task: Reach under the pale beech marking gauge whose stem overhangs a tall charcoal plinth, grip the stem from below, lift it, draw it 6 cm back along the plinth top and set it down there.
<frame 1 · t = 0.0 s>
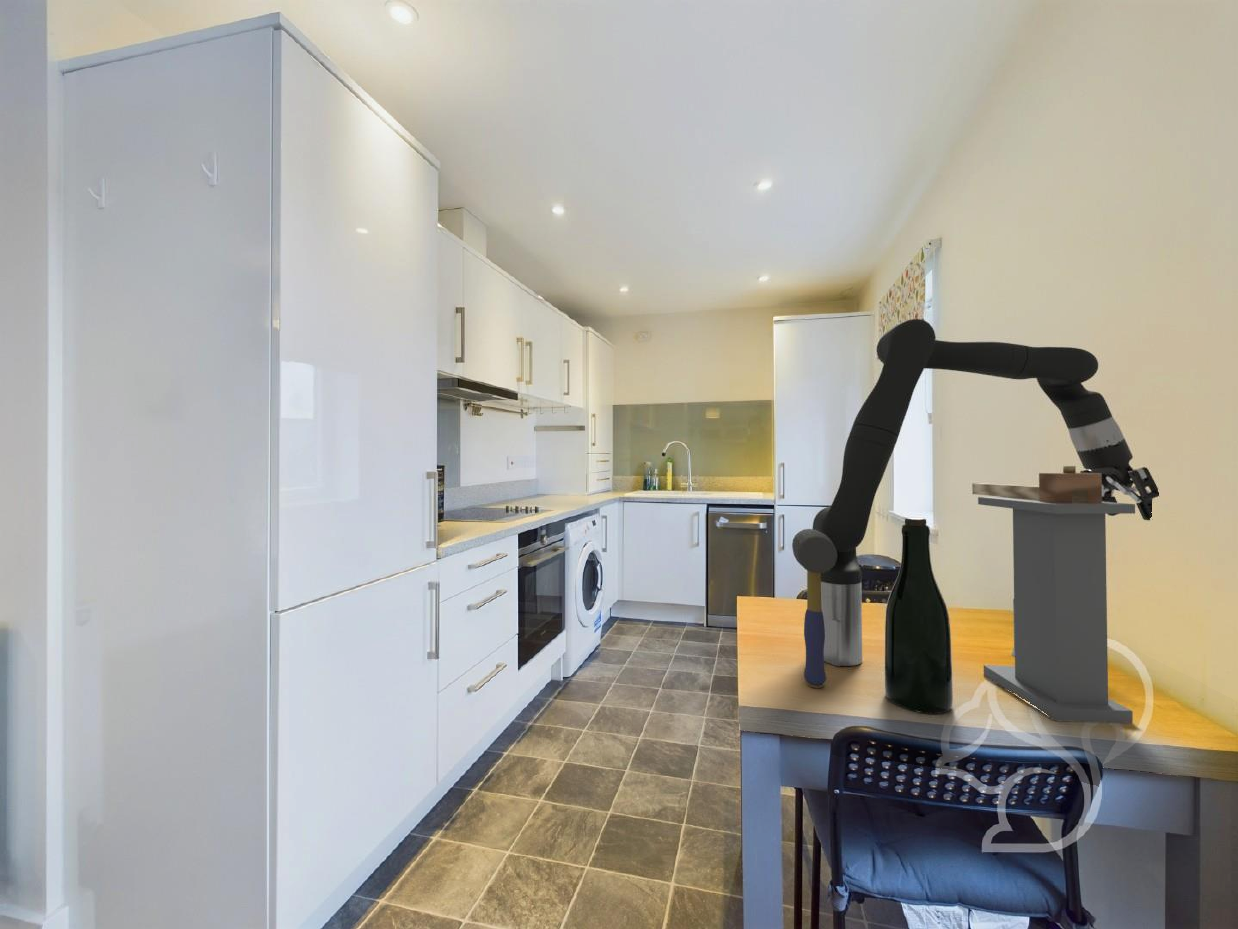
hand: (1132, 516, 101), 31 cm above the table, tool tilted 20°, fingers open, 8 cm apart
marking gauge: (1021, 497, 97), point 36 cm above the table, touching plinth
glass holder: (1051, 663, 106), on the table
plinth: (1050, 696, 91), on the table
rubber mallet: (815, 686, 96), on the table
dark green wine bottle: (917, 702, 89), on the table
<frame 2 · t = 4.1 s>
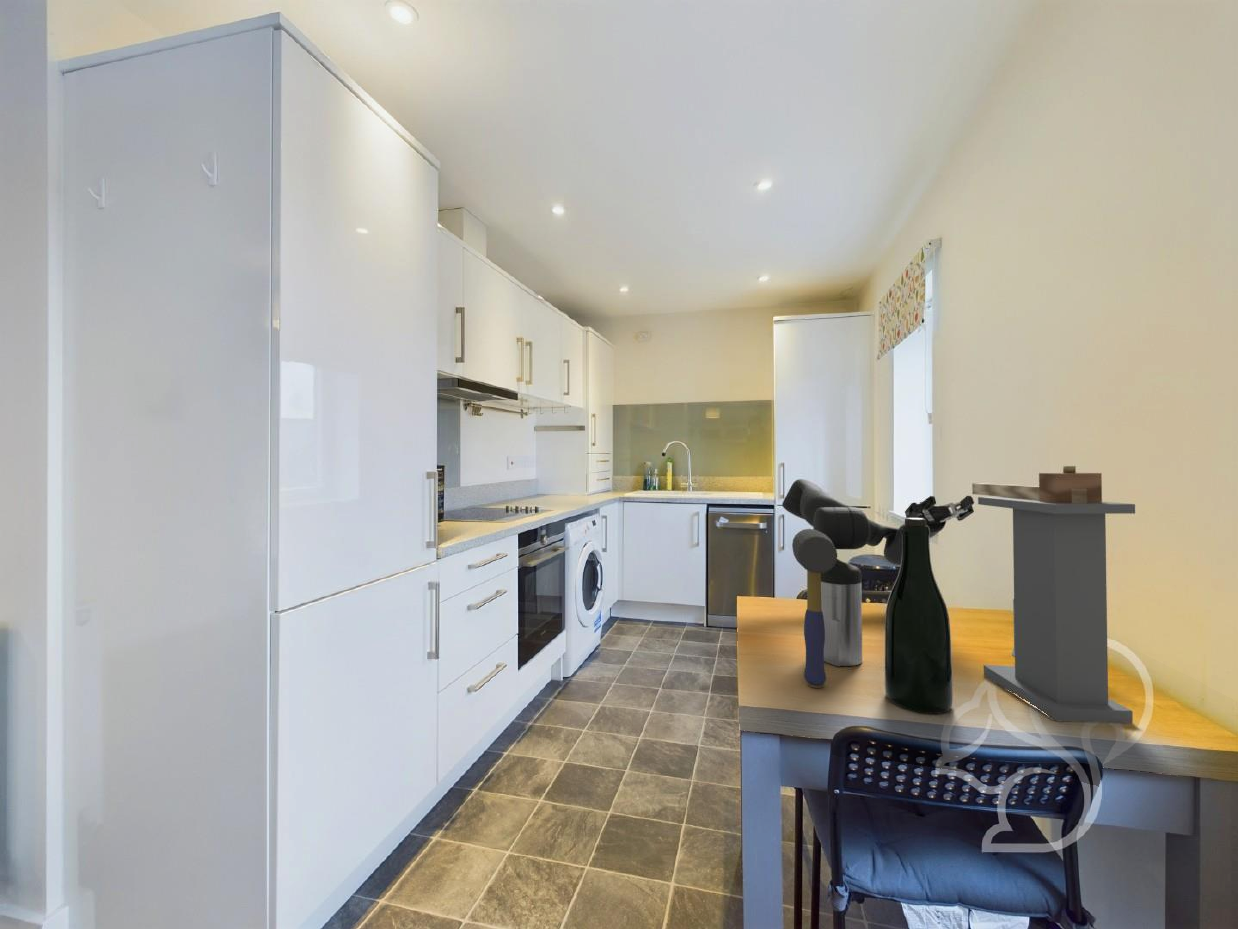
hand: (952, 499, 121), 34 cm above the table, tool pointing upward, fingers open, 8 cm apart
nothing on the table moved.
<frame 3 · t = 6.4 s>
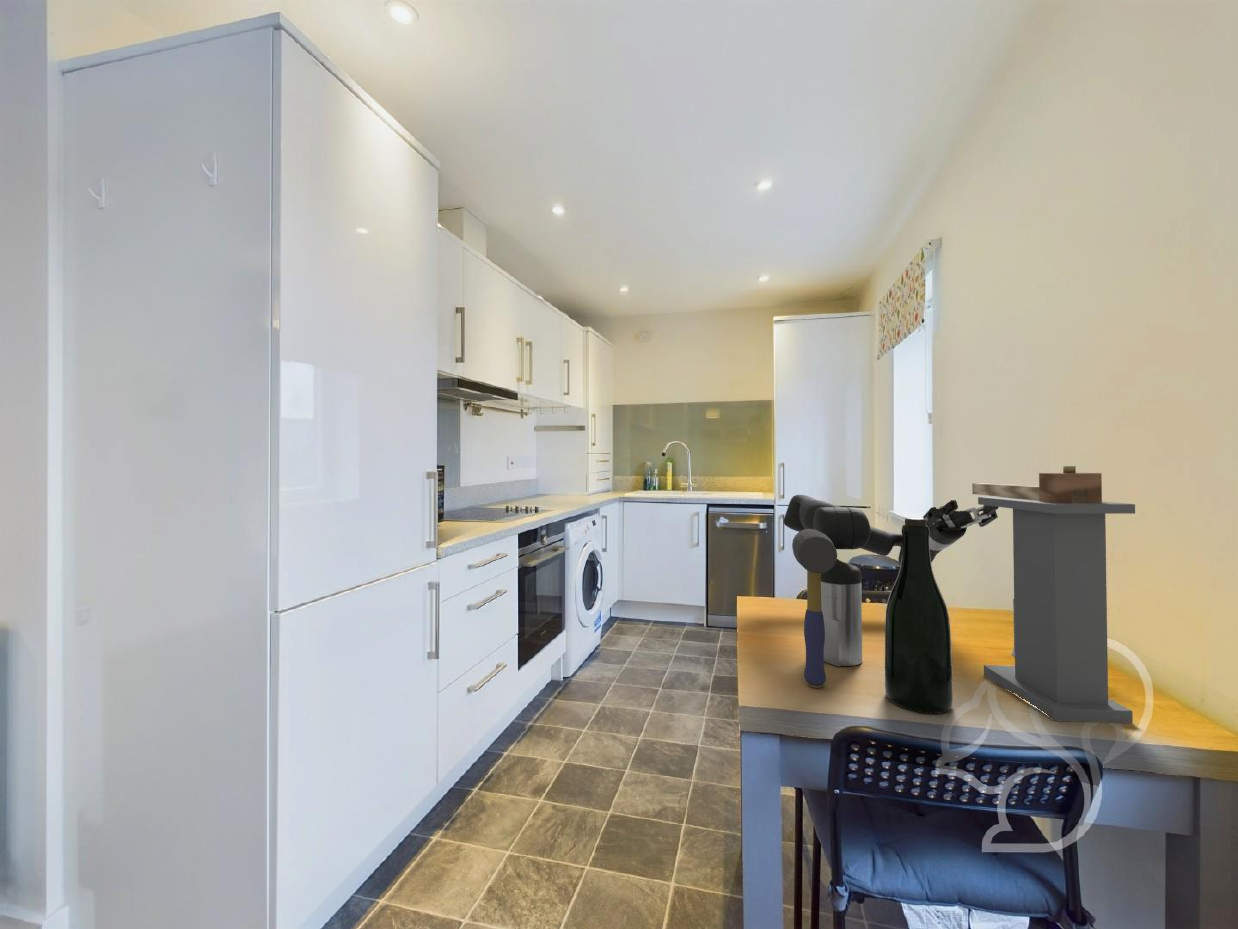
hand: (975, 503, 113), 34 cm above the table, tool pointing upward, fingers open, 8 cm apart
nothing on the table moved.
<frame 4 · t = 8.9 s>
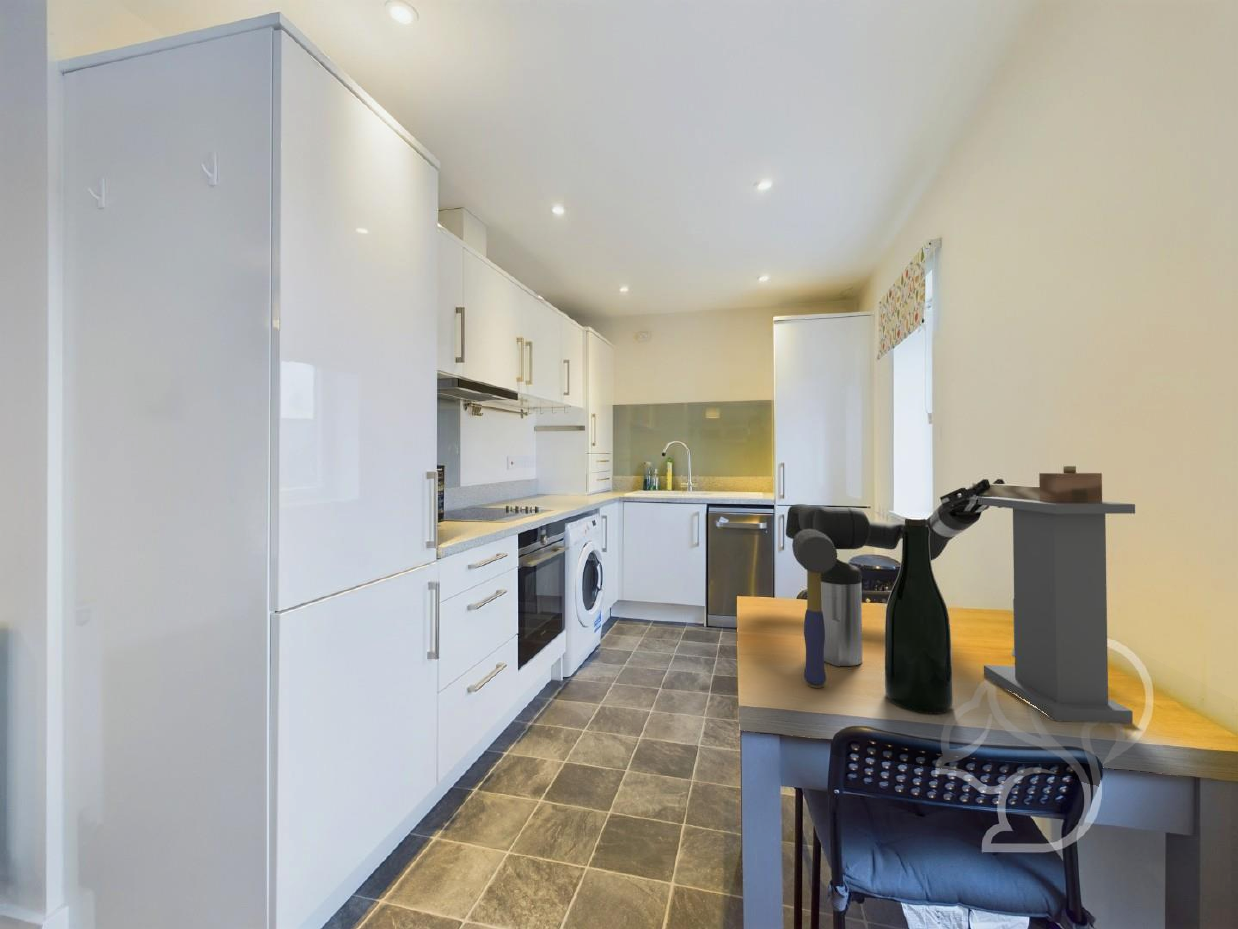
hand: (994, 482, 105), 38 cm above the table, tool pointing upward, fingers closed on marking gauge, 2 cm apart
marking gauge: (1022, 497, 97), point 36 cm above the table, touching gripper, plinth
everything else where it was.
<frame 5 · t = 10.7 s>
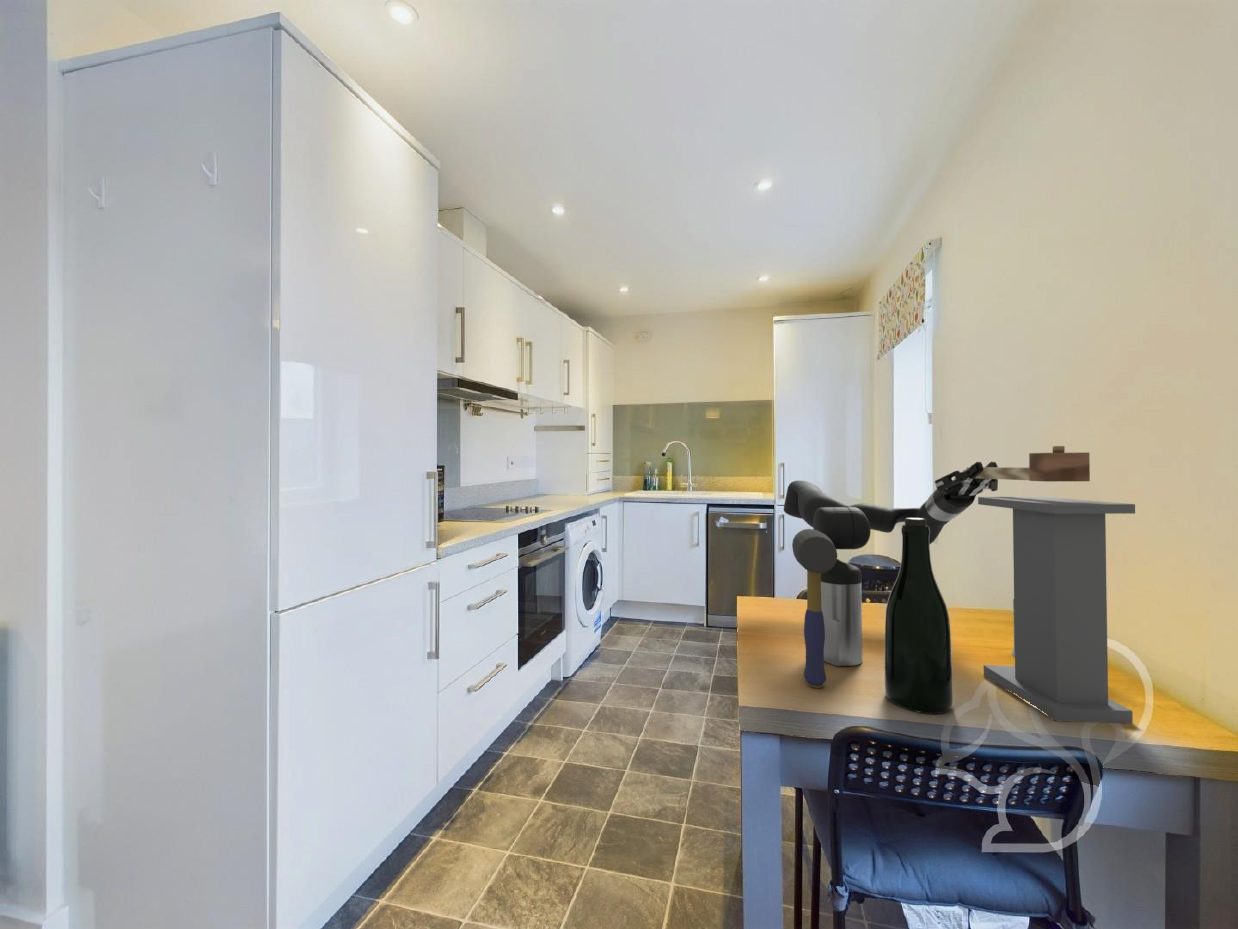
hand: (987, 465, 108), 42 cm above the table, tool pointing upward, fingers closed on marking gauge, 2 cm apart
marking gauge: (1013, 479, 100), point 39 cm above the table, touching gripper
everything else where it was.
when the fingers open (40 cm above the table, at t = 12.5 s): marking gauge drops 1 cm, resting on plinth.
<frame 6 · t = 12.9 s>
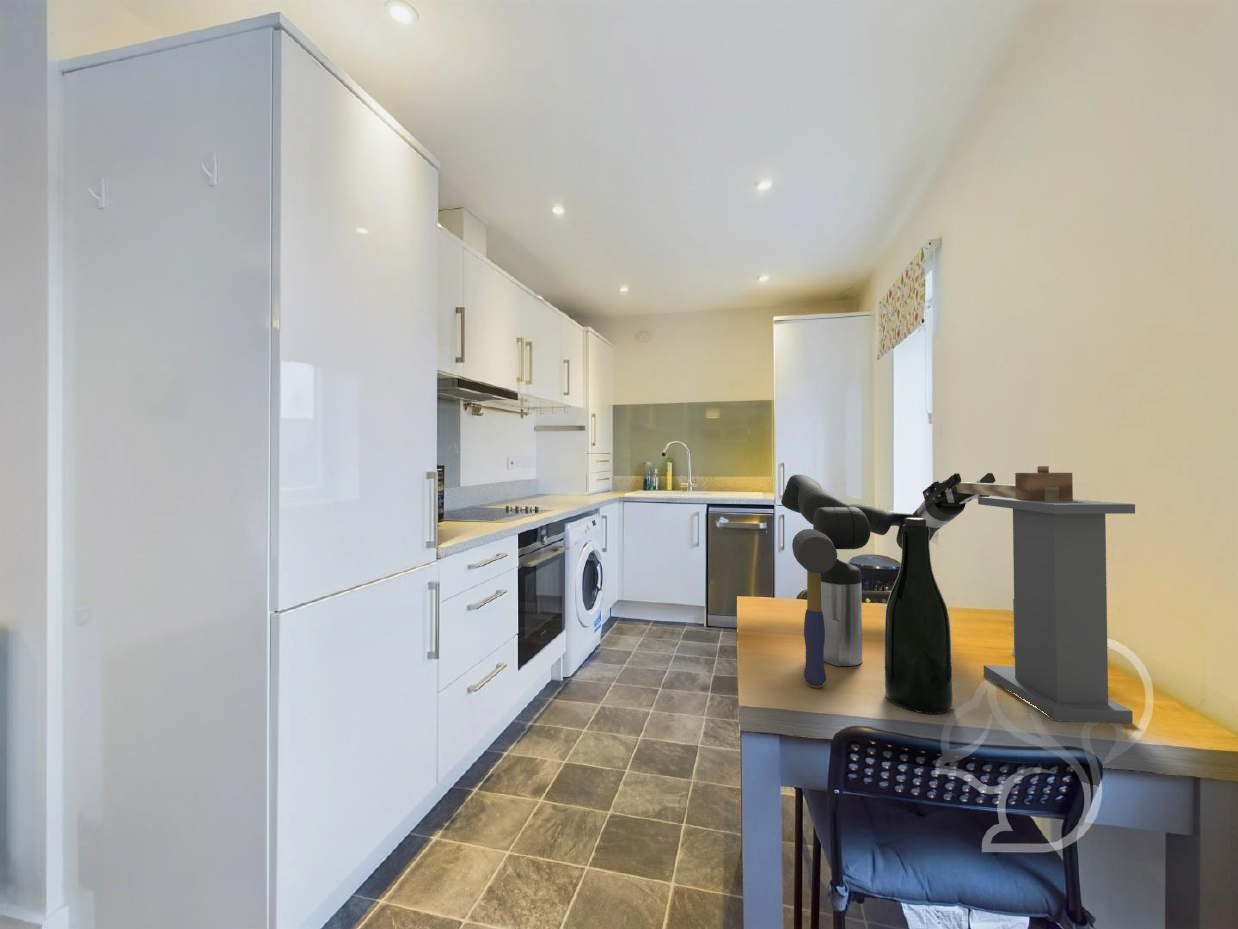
hand: (975, 476, 112), 40 cm above the table, tool pointing upward, fingers open, 6 cm apart
marking gauge: (1001, 496, 103), point 36 cm above the table, touching plinth
everything else where it was.
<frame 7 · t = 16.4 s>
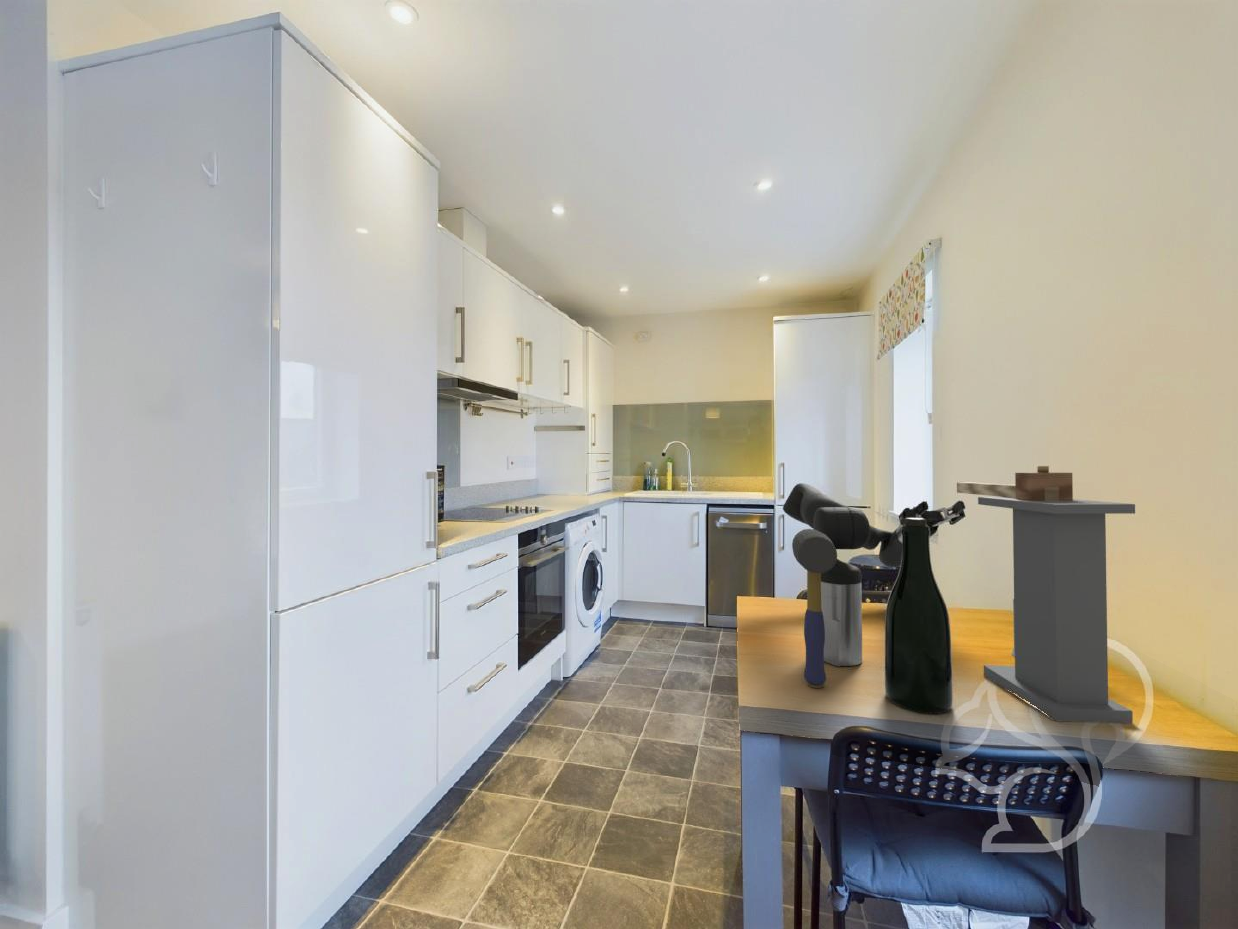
hand: (944, 504, 124), 33 cm above the table, tool pointing upward, fingers open, 8 cm apart
nothing on the table moved.
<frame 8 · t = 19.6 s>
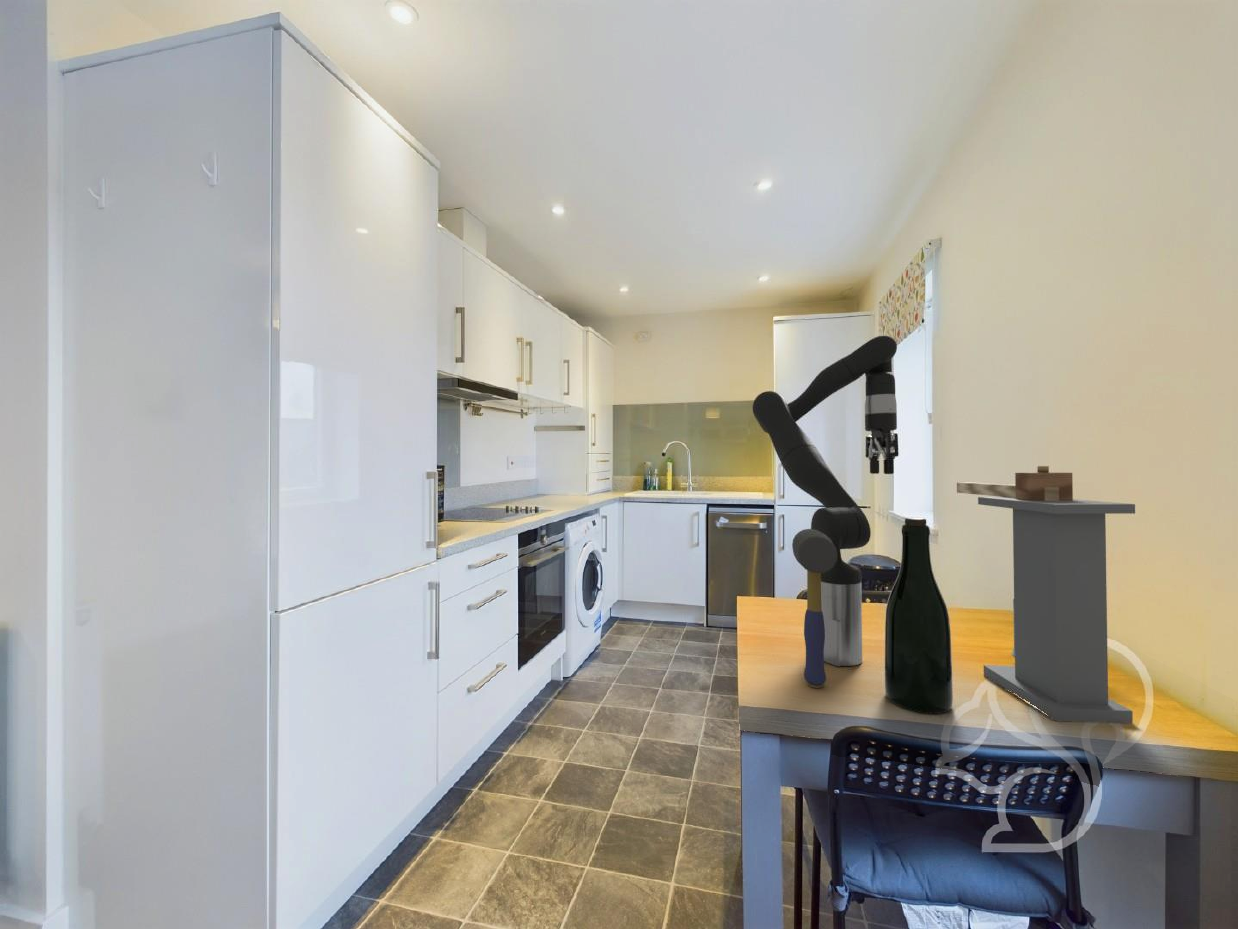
hand: (881, 473, 132), 40 cm above the table, tool pointing down, fingers open, 8 cm apart
nothing on the table moved.
at the end: marking gauge moved 6.1 cm from its start; marking gauge touching plinth; marking gauge point 35.8 cm above the table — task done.
